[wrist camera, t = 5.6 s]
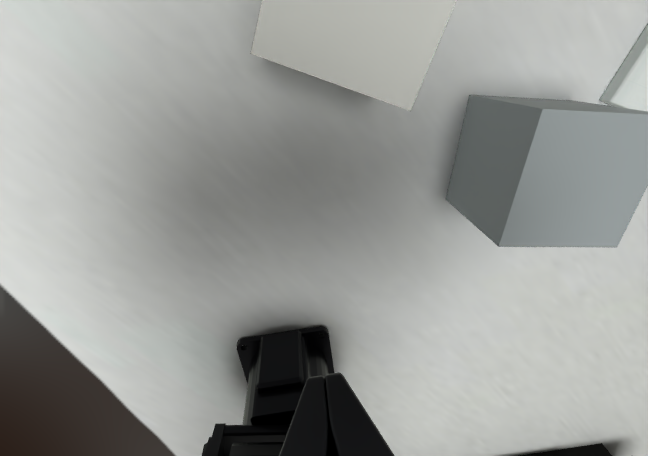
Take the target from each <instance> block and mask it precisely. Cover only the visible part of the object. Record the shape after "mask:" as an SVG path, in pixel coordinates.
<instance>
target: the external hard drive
mask: <svg viewBox="0 0 648 456" xmlns="http://www.w3.org/2000/svg"><path fill="white" fill-rule="evenodd" d="M599 100H600V101H602V102H604V103H607V104H609V105H611V106H613V107H620V108H627V109H634V110H641V111H648V24H647V26H646V27H645V29H644V30H643V32H642V33H641V35H640V37H639V38H638V40H637V41H636V43H635V44H634V46H633V48H632V49H631V51H630V52H629V54H628V55H627V57H626V59H625V60H624V62H623V63H622V65H621V66H620V68H619V70H618V71H617V73H616V74H615V76H614V78H613V79H612V81H611V82H610V84H609V85H608V87H607V88H606V90H605V91H604V93H603V95H602V96H601V98H600V99H599Z"/></svg>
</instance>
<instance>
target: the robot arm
mask: <svg viewBox="0 0 648 456" xmlns="http://www.w3.org/2000/svg"><path fill="white" fill-rule="evenodd" d="M320 333H324V334H320ZM242 345H246V346H242ZM237 351H238V354H239V358H240V361H241V364H242V367H243V370H244V373H245V377H246V380H247V383H248V387H247V395H246V403H245V410H244V418H243V425H226V424H215V428H214V431H213V435H212V437H209V440H208V443H206V444H205V445H204V448H203V453H202V456H394V454H393V453H392V451H391V449H390V448H389V446H388V445H387V443H386V442H385V440H384V439H383V437H382V435H381V434H380V432H379V431H378V429H377V428H376V426H375V424H374V423H373V421H372V420H371V418H370V417H369V415H368V414H367V412H366V410H365V409H364V407H363V406H362V404H361V403H360V401H359V400H358V398H357V396H356V395H355V393H354V392H353V390H352V389H351V387H350V386H349V384H348V382H347V381H346V379H345V378H344V376H343V375H342V374H341V373H334V368H333V361H332V354H331V347H330V340H329V333H328V329H327V328H326V327H323V326H320V327H313V328H307V329H300V330H294V331H287V332H281V333H274V334H267V335H261V336H254V337H248V338H242V339H240V340H238V342H237Z"/></svg>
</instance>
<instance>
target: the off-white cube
mask: <svg viewBox="0 0 648 456" xmlns="http://www.w3.org/2000/svg"><path fill="white" fill-rule="evenodd" d="M456 1H457V0H262V3H261V7H260V12H259V17H258V21H257V26H256V31H255V35H254V40H253V45H252V49H251V54H253V55H255V56H258V57H261V58H264V59H267V60H269V61H272V62H275V63H278V64H280V65H283V66H286V67H289V68H292V69H294V70H297V71H300V72H303V73H306V74H308V75H311V76H314V77H317V78H319V79H322V80H325V81H328V82H331V83H333V84H336V85H339V86H342V87H344V88H347V89H350V90H353V91H356V92H358V93H361V94H364V95H367V96H369V97H372V98H375V99H378V100H381V101H383V102H386V103H389V104H392V105H395V106H397V107H400V108H403V109H406V110H408V111H411V109H412V107H413V104H414V102H415V100H416V97H417V95H418V92H419V90H420V88H421V85H422V83H423V80H424V78H425V76H426V73H427V71H428V68H429V66H430V64H431V61H432V59H433V56H434V54H435V51H436V49H437V47H438V44H439V42H440V39H441V37H442V35H443V32H444V30H445V27H446V25H447V23H448V20H449V18H450V15H451V13H452V11H453V8H454V6H455V3H456Z"/></svg>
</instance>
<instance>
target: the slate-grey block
mask: <svg viewBox="0 0 648 456" xmlns="http://www.w3.org/2000/svg"><path fill="white" fill-rule="evenodd" d="M647 186H648V111H641V110H634V109H627V108H620V107H613V106H606V105H599V104H592V103H585V102H578V101H568V100H550V99H532V98H515V97H497V96H479V95H469V100H468V104H467V108H466V113H465V117H464V121H463V126H462V130H461V135H460V139H459V143H458V148H457V152H456V157H455V161H454V165H453V170H452V174H451V178H450V183H449V187H448V192H447V196H446V200H447V201H448V202H449V203H450V204H451V205H452V206H454V207H455V208H456V209H457V210H458V211H459V212H460V213H461V214H463V215H464V216H465V217H466V218H467V219H468V220H469V221H470V222H472V223H473V224H474V225H475V226H476V227H477V228H478V229H479V230H481V231H482V232H483V233H484V234H485V235H486V236H487V237H488V238H489V239H491V240H492V241H493V242H494V243H495V244H496V245H497V246H498V247H617V246H618V244H619V242H620V240H621V238H622V236H623V234H624V232H625V230H626V228H627V226H628V224H629V222H630V220H631V218H632V216H633V214H634V212H635V210H636V208H637V206H638V204H639V202H640V200H641V198H642V196H643V194H644V192H645V190H646V188H647Z"/></svg>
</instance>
